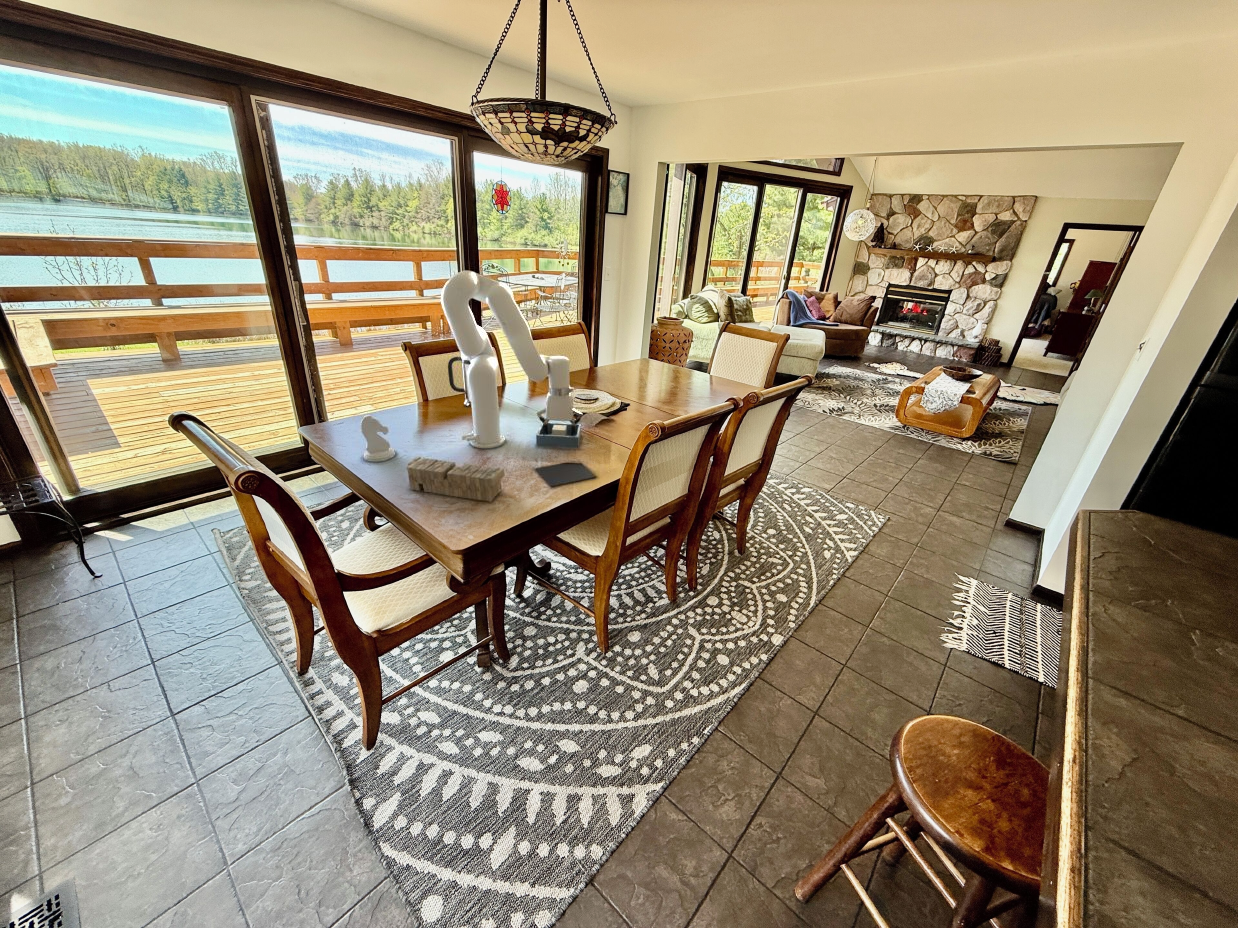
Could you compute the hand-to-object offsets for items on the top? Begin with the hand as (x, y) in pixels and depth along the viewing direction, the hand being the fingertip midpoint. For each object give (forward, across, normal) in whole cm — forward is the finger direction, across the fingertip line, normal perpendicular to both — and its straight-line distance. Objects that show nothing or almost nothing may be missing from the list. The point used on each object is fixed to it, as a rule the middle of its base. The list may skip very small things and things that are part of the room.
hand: (560, 433), depth 184 cm
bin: (+3, 0, 0) cm, 3 cm away
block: (+2, 0, 0) cm, 2 cm away
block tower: (+3, +27, +42) cm, 50 cm away
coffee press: (+3, +44, -41) cm, 60 cm away
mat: (+3, -5, +27) cm, 28 cm away
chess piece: (+3, +60, +20) cm, 64 cm away
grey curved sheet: (+4, -13, -24) cm, 27 cm away
